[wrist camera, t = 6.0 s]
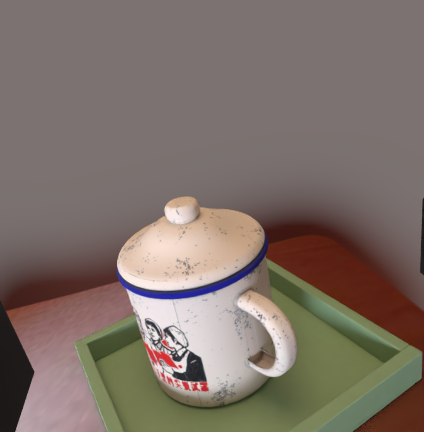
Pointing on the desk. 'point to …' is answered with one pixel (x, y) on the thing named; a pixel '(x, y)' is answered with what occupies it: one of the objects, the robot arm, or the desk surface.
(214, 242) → the teacup with lid
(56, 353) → the desk surface
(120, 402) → the tray
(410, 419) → the desk surface
